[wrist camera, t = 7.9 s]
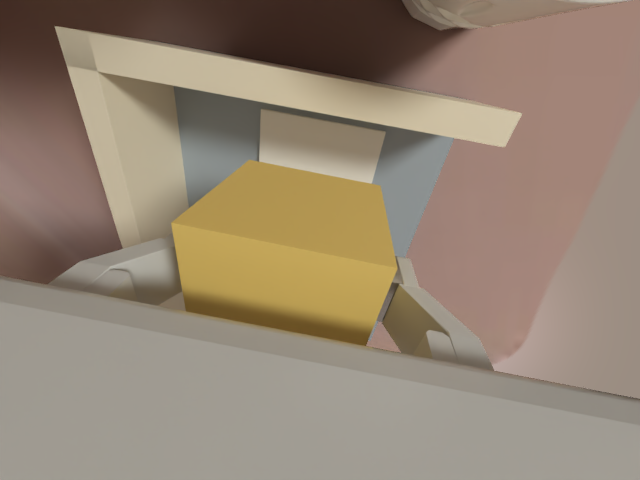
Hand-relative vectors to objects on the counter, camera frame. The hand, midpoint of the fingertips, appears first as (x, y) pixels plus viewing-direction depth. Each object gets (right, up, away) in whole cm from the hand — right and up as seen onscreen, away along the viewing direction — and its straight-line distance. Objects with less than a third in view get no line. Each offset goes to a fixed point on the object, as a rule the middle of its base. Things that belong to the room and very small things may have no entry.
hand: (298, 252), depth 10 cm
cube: (0, +1, +1) cm, 2 cm away
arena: (-1, +2, +10) cm, 10 cm away
